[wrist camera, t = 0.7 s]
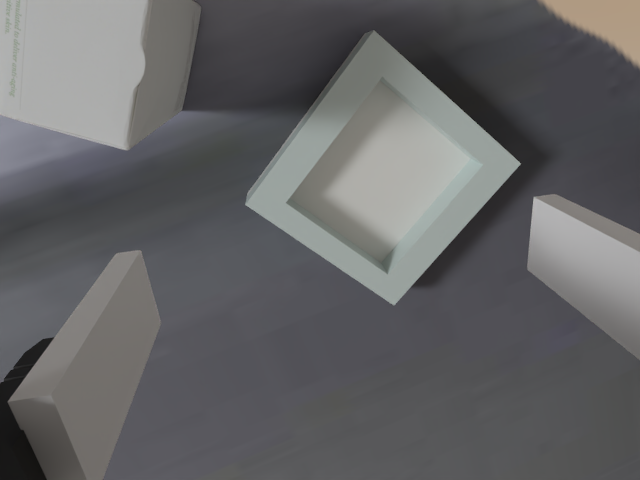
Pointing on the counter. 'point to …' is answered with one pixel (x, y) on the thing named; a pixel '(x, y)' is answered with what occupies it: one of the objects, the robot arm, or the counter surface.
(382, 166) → the square shallow tray
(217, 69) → the counter surface
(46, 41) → the skincare box
